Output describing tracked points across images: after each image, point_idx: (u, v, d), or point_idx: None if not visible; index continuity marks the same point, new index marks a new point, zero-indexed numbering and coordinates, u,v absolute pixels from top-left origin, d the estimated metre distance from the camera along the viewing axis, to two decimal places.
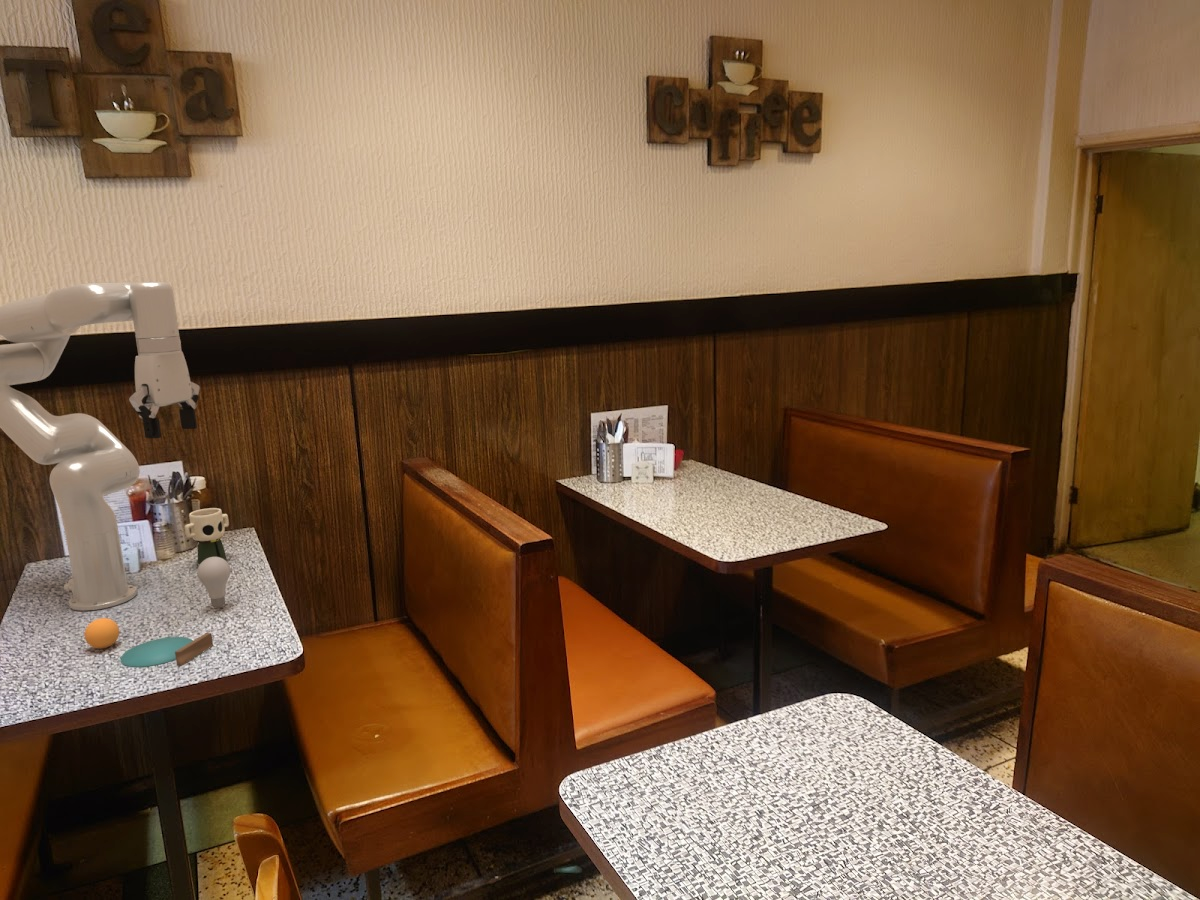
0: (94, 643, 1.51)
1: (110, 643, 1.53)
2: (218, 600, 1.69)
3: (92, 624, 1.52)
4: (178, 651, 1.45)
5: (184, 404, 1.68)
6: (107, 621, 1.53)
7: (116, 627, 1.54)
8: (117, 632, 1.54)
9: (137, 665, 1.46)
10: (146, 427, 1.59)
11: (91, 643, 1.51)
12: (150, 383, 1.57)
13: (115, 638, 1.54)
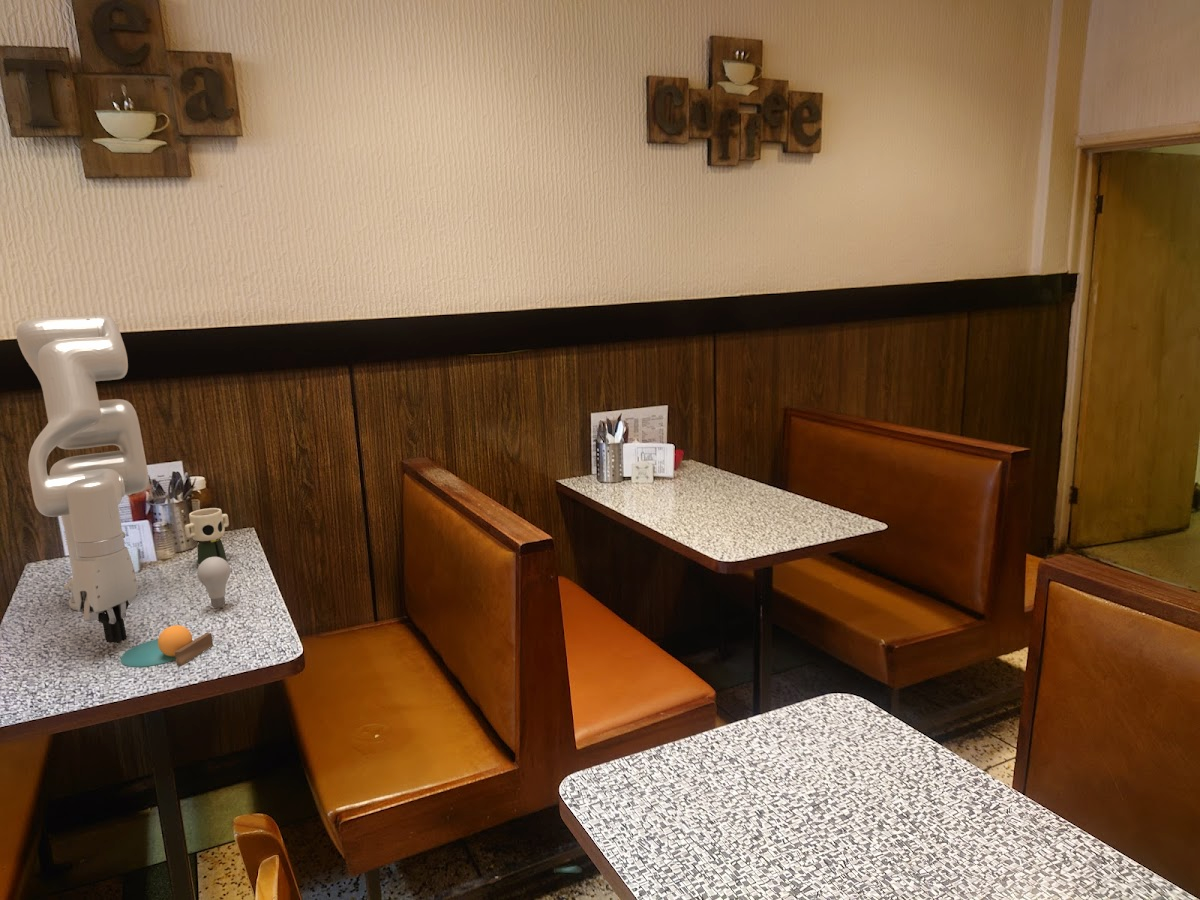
0: (169, 650, 1.46)
1: None
2: (218, 600, 1.69)
3: (162, 632, 1.48)
4: (178, 651, 1.45)
5: (114, 611, 1.53)
6: (176, 626, 1.49)
7: (187, 630, 1.49)
8: (189, 634, 1.49)
9: (137, 665, 1.46)
10: (106, 632, 1.51)
11: (166, 651, 1.47)
12: (89, 590, 1.46)
13: (189, 640, 1.49)
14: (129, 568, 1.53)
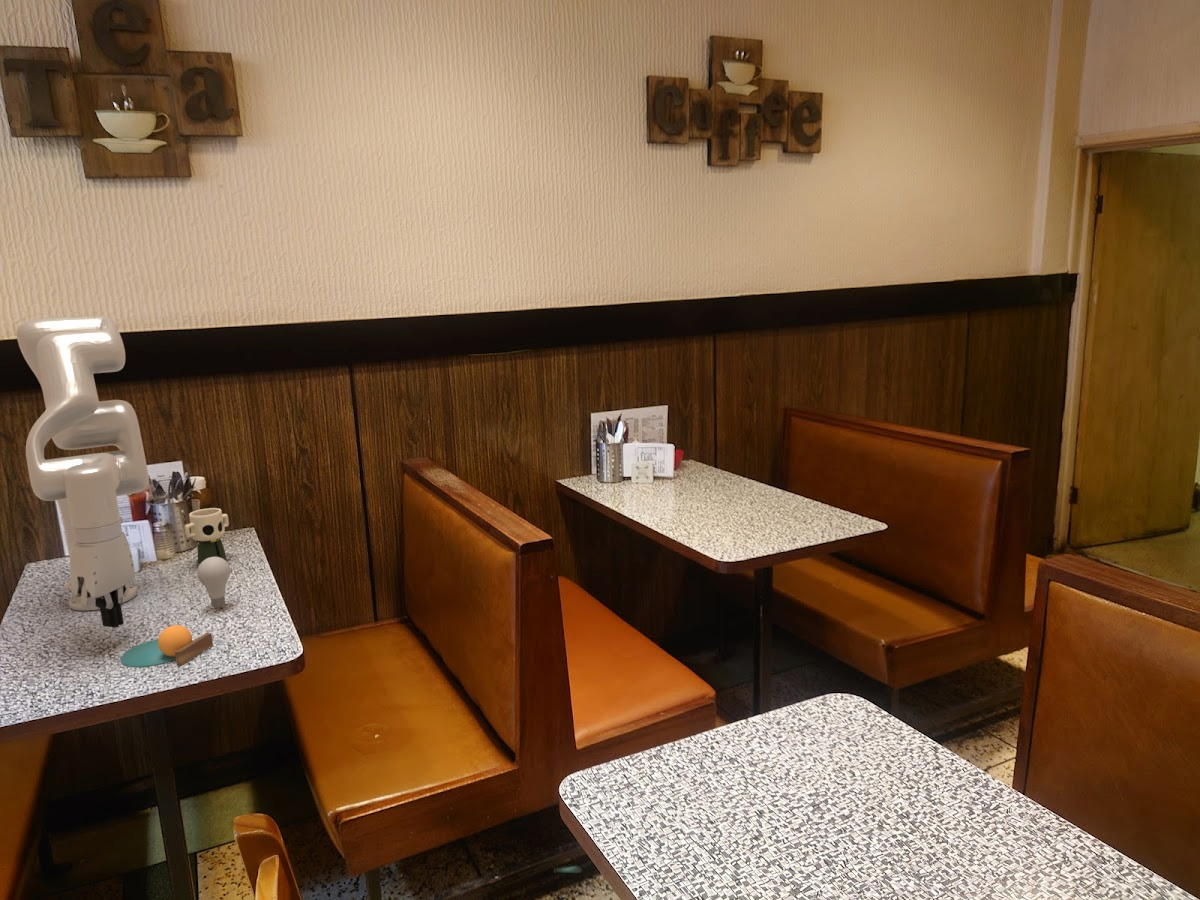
0: (169, 650, 1.46)
1: None
2: (218, 600, 1.69)
3: (162, 632, 1.48)
4: (178, 651, 1.45)
5: (111, 596, 1.54)
6: (176, 626, 1.49)
7: (187, 630, 1.49)
8: (189, 634, 1.49)
9: (137, 665, 1.46)
10: (103, 617, 1.52)
11: (166, 651, 1.47)
12: (86, 576, 1.46)
13: (189, 640, 1.49)
14: (126, 553, 1.53)
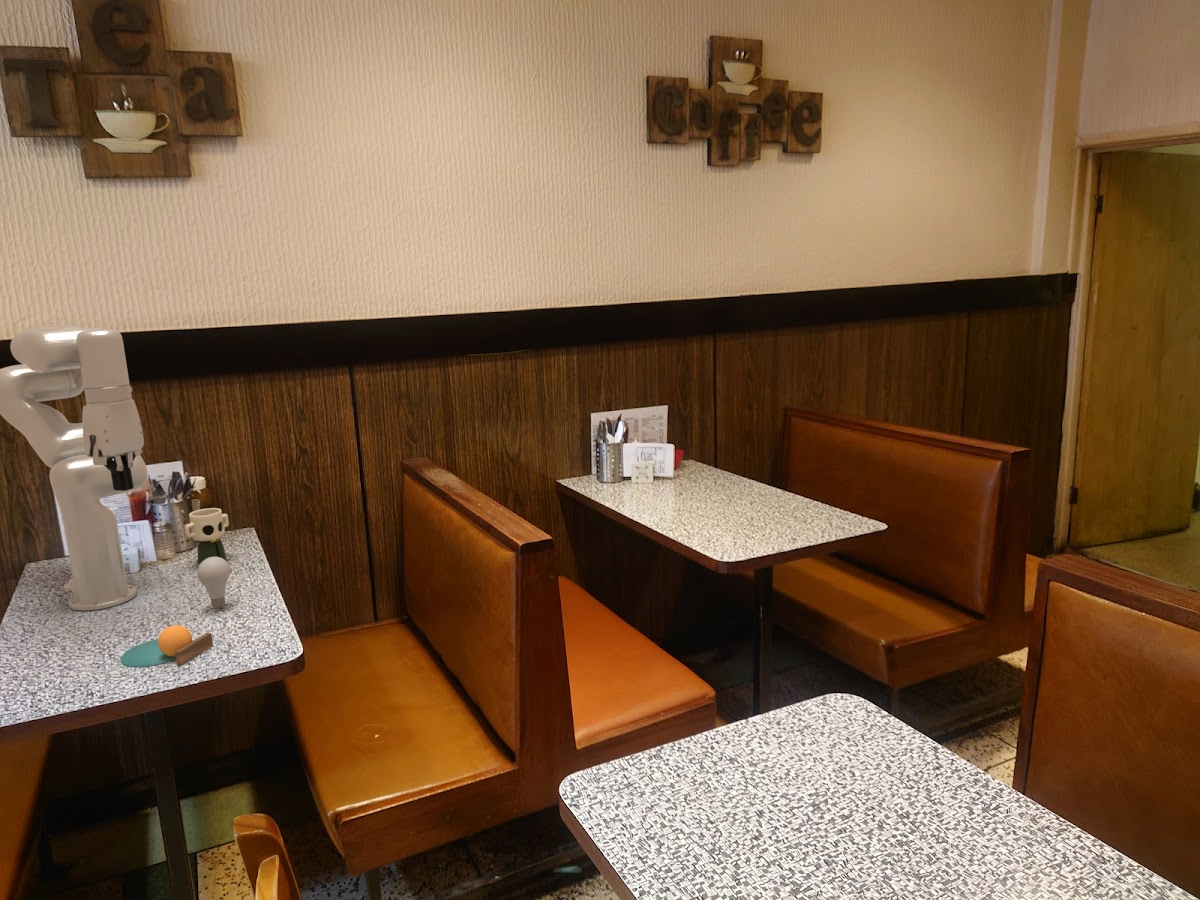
0: (169, 650, 1.46)
1: None
2: (218, 600, 1.69)
3: (162, 632, 1.48)
4: (178, 651, 1.45)
5: (121, 461, 1.61)
6: (176, 626, 1.49)
7: (187, 630, 1.49)
8: (189, 634, 1.49)
9: (137, 665, 1.46)
10: (114, 480, 1.59)
11: (166, 651, 1.47)
12: (98, 434, 1.53)
13: (189, 640, 1.49)
14: (136, 420, 1.60)
